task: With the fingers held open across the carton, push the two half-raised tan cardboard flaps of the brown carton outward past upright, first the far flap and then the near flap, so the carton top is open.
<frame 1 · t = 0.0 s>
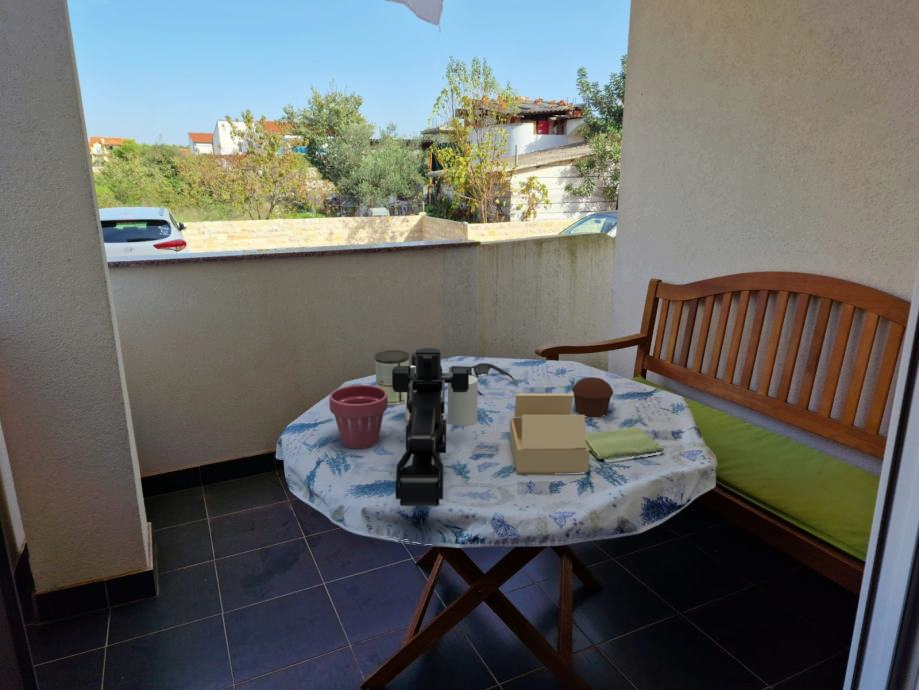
hand: (432, 368, 144), 17 cm above the table, tool horizontal, fingers open, 9 cm apart
carton: (546, 455, 133), on the table
near flap: (553, 431, 123), point 10 cm above the table, hinge at 70.0°
sunglasses: (486, 386, 181), on the table
coffee can: (393, 399, 169), on the table
muffin: (590, 412, 159), on the table
off-white closed cylinder: (462, 421, 153), on the table
plant pot: (360, 441, 141), on the table
washcloth: (620, 450, 137), on the table
silver metal cylinder: (415, 420, 153), on the table
far flap: (543, 405, 138), point 10 cm above the table, hinge at 70.0°
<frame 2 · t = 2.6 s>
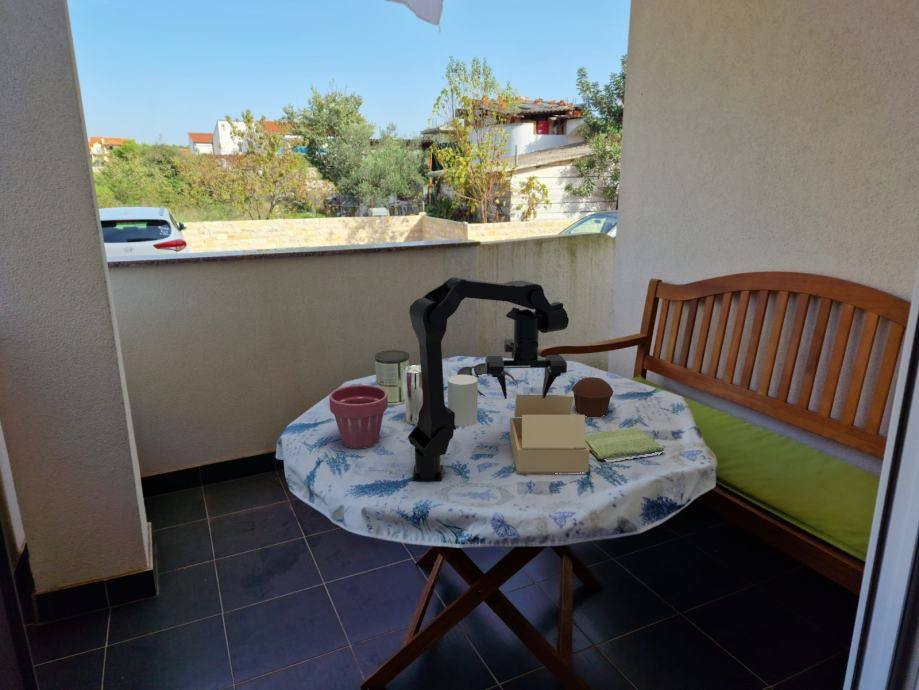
hand: (524, 398, 133), 13 cm above the table, tool pointing down, fingers open, 9 cm apart
far flap: (543, 406, 137), point 10 cm above the table, hinge at 67.3°
everything else where it was.
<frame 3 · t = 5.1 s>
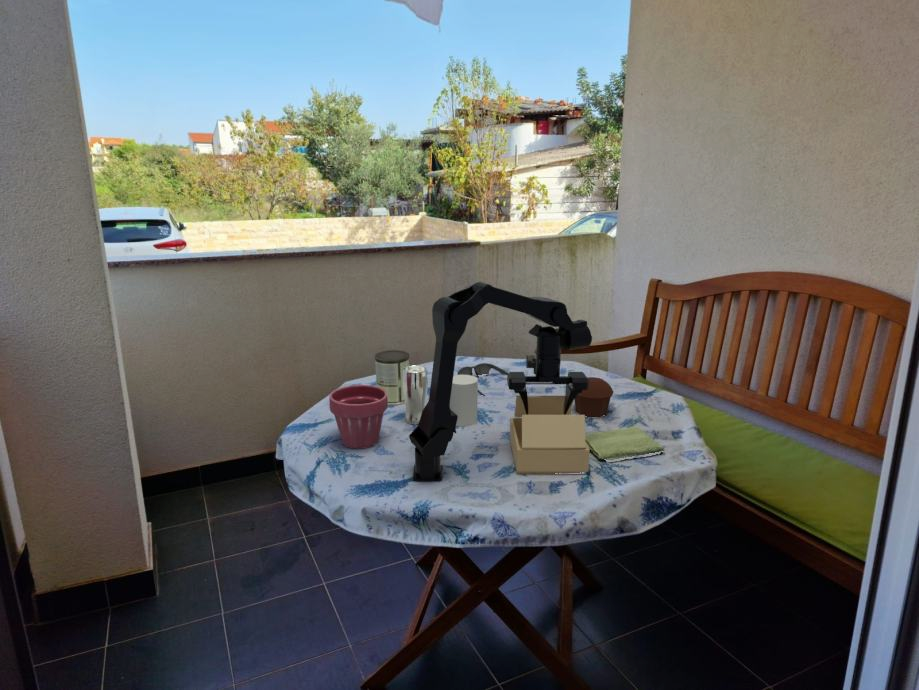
hand: (545, 414, 134), 9 cm above the table, tool pointing down
far flap: (543, 406, 137), point 10 cm above the table, hinge at 65.0°, touching gripper
everything else where it was.
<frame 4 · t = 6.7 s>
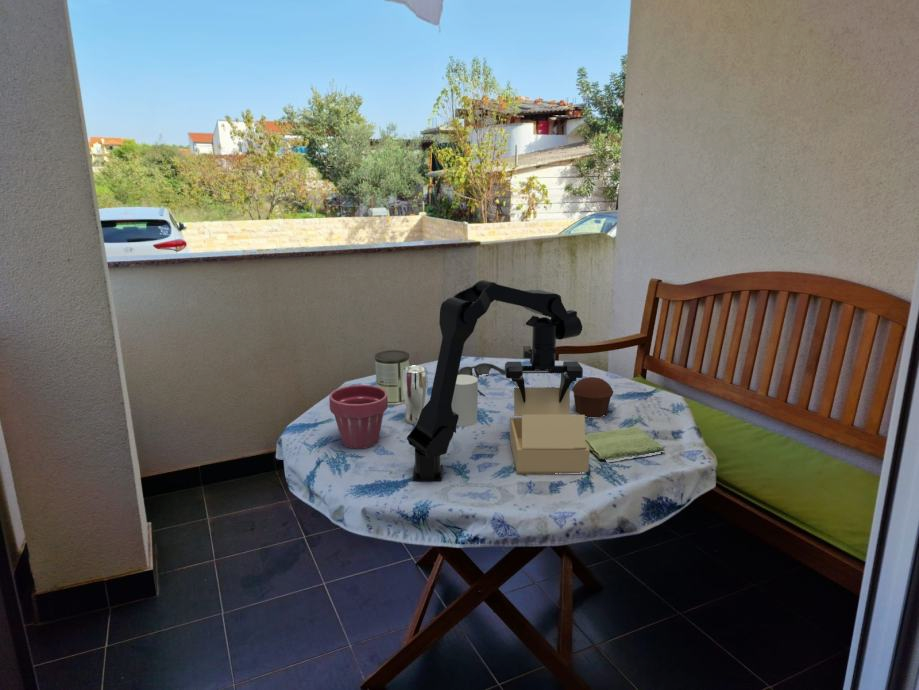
hand: (542, 402, 139), 10 cm above the table, tool pointing down, fingers closed on far flap, 9 cm apart
far flap: (541, 401, 140), point 10 cm above the table, hinge at 113.1°, touching gripper
everything else where it was.
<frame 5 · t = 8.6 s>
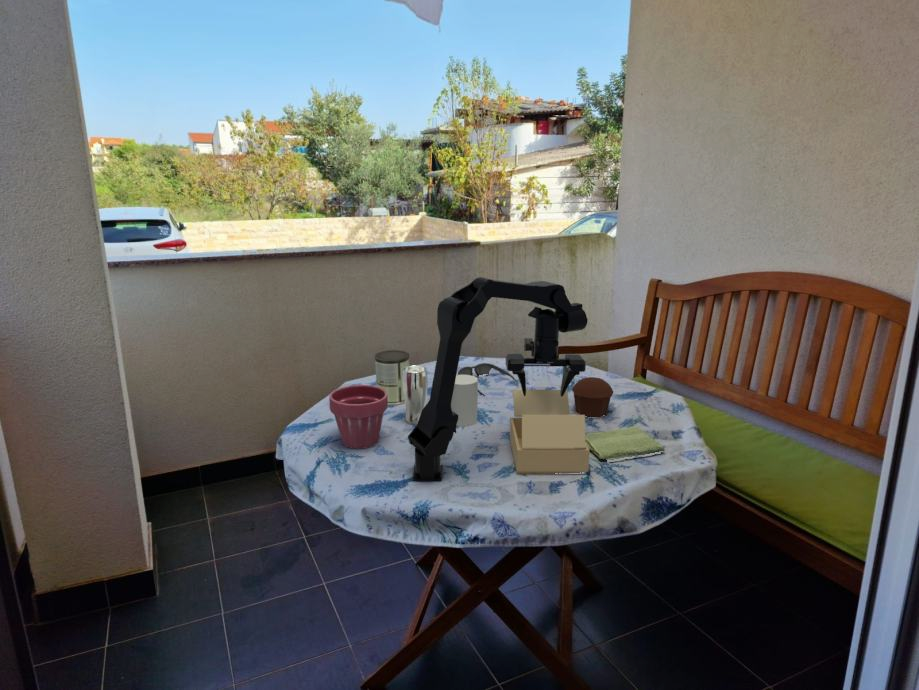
hand: (543, 395, 137), 13 cm above the table, tool pointing down, fingers open, 9 cm apart
far flap: (541, 403, 141), point 9 cm above the table, hinge at 134.8°
everything else where it was.
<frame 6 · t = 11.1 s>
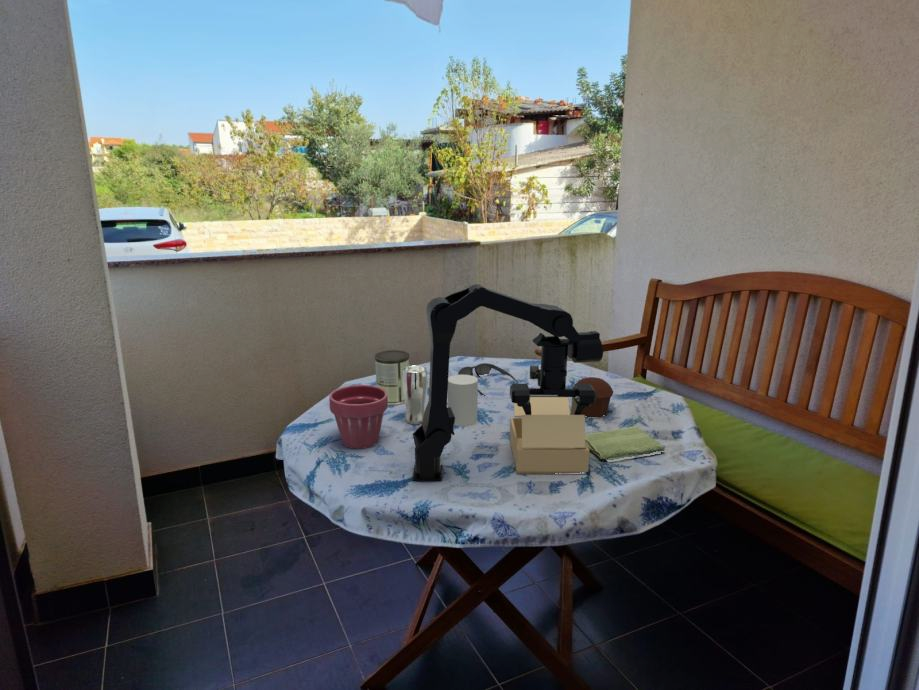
hand: (550, 428, 127), 9 cm above the table, tool pointing down, fingers open, 9 cm apart
near flap: (553, 431, 123), point 10 cm above the table, hinge at 70.0°, touching gripper
far flap: (541, 403, 141), point 9 cm above the table, hinge at 135.2°
everything else where it was.
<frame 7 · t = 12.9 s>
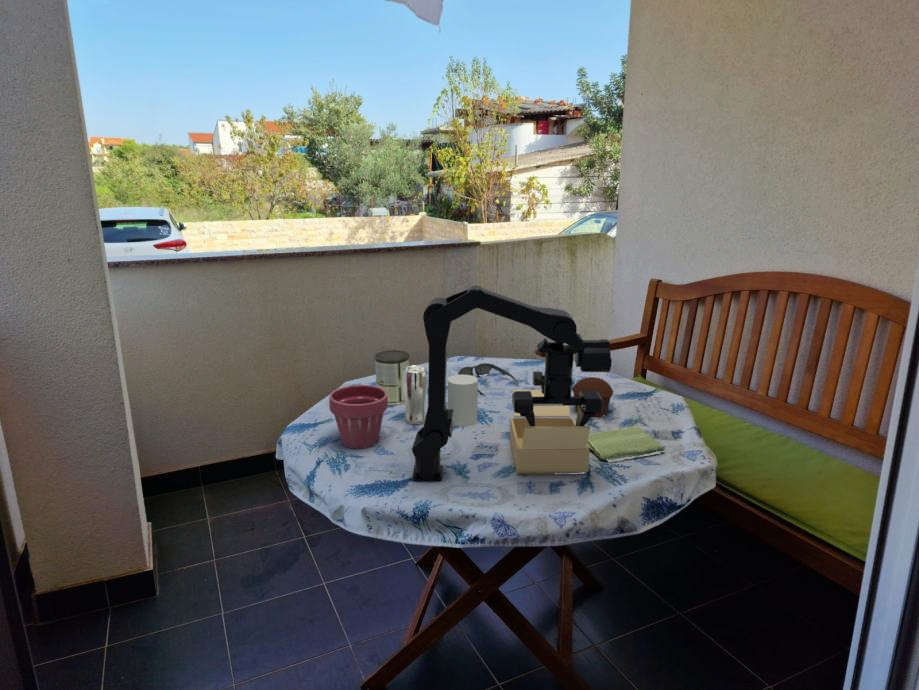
hand: (555, 437, 121), 9 cm above the table, tool pointing down
near flap: (555, 437, 120), point 10 cm above the table, hinge at 117.6°, touching gripper
everything else where it was.
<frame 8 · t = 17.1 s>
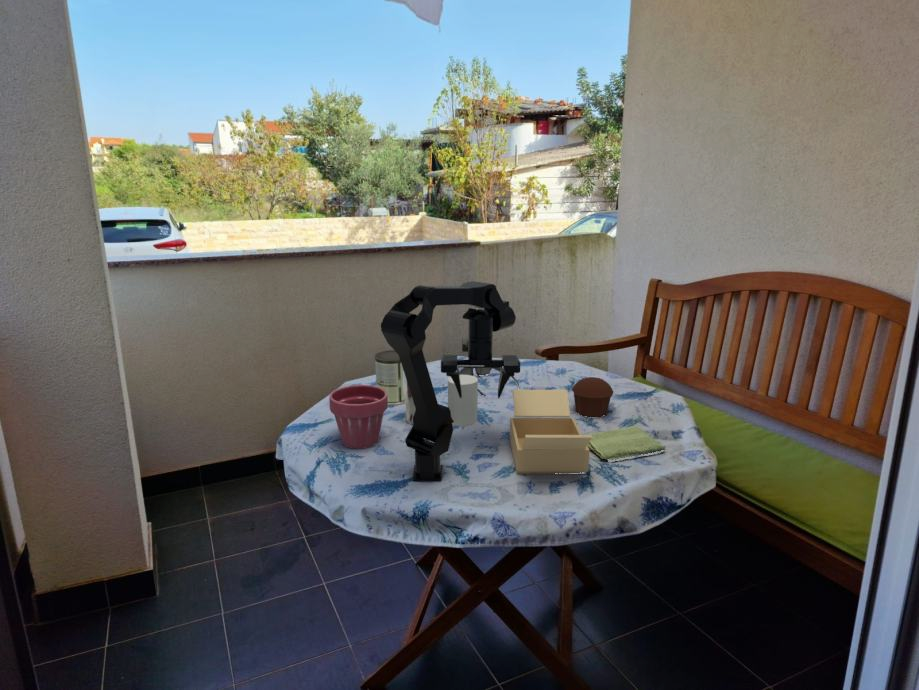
hand: (479, 397, 134), 13 cm above the table, tool pointing down, fingers open, 9 cm apart
near flap: (556, 441, 120), point 9 cm above the table, hinge at 134.7°
everything else where it was.
at the end: far flap at +135° (first picture: +70°); near flap at +135° (first picture: +70°) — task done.
